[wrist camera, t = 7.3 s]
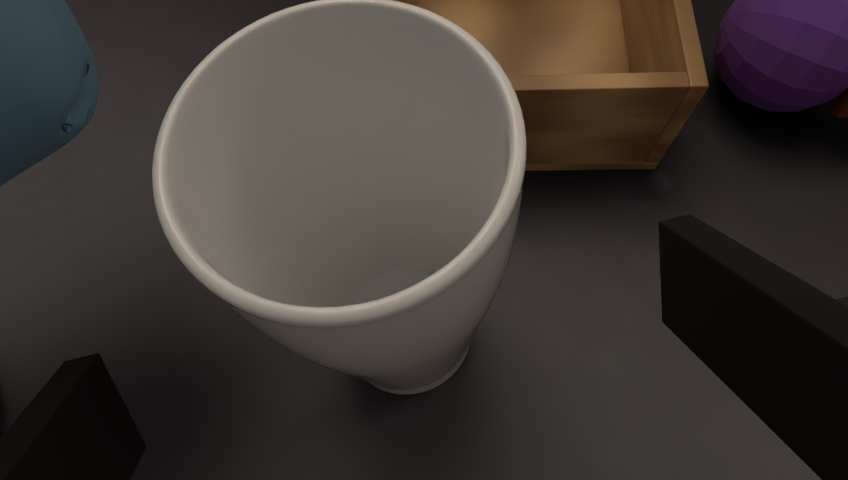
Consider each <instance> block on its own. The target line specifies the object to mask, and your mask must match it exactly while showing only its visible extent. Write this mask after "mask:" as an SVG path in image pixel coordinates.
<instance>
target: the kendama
mask: <svg viewBox="0 0 848 480" xmlns="http://www.w3.org/2000/svg"><path fill="white" fill-rule="evenodd" d="M714 57H715V61H716V64H717V68H718V72H719V75H720V79H721V80H722V82H723V83H724V84H725V85H726V86H727V87H728V88H729V89H730V90H731V91H732V92H733V94H734V95H735V96H736V97H737V98H739V99H740V100H742V101H744V102H746V103H749V104H751V105H753V106H756V107H758V108H761V109H763V110H765V111H775V112H798V111H801V110H804V109H807V108H810V107H813V106H816V105H819V104H822V103H825V102H828V101H830V100H832V99H833V102H832V105H831V114H832V116H834V117H837V118H848V0H736V1H735V2H734V3H733V4H732V5H731V6H730V8H729V9H728V11H727V12H726V14H725V16H724V17H723V19H722V21H721V23H720V25H719V29H718V35H717V41H716V47H715V52H714Z"/></svg>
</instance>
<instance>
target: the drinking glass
mask: <svg viewBox="0 0 848 480" xmlns="http://www.w3.org/2000/svg"><path fill="white" fill-rule="evenodd" d="M526 148H527V141H526V131H525V123H524V119H523V114H522V110H521V107H520V104H519V101H518V98H517V95H516V93H515V91H514V89H513V86H512V84H511V82H510V80H509V78H508V77H507V75H506V74H505V72H504V70H503V69H502V67H501V66H500V64H499V63H498V62H497V61H496V59H495V58H494V57H493V55H492V54H491V53H490V52H489V51H488V50H487V49H486V48H485V47H484V46H483V45H482V44H481V43H480V42H479V41H478V40H476V39H475V38H474V37H473V36H472V35H471V34H469V33H468V32H467V31H465V30H464V29H462V28H461V27H459V26H458V25H456V24H455V23H453V22H451V21H449V20H448V19H446V18H444V17H442V16H440V15H438V14H435V13H433V12H431V11H429V10H426V9H423V8H420V7H417V6H415V5H411V4H407V3H403V2H399V1H394V0H317V1H312V2H307V3H303V4H299V5H296V6H292V7H289V8H286V9H283V10H281V11H278V12H275V13H272V14H270V15H268V16H266V17H264V18H261V19H259V20H257V21H255V22H254V23H252V24H250V25H248V26H246V27H244V28H243V29H241V30H240V31H238V32H237V33H235V34H234V35H232V36H230V37H229V38H228V39H226V40H225V41H224V42H223V43H221V44H220V45H219V46H217V47H216V48H215V49H214V50H213V51H212V52H211V53H210V54H208V55H207V56H206V57H205V58H204V59H203V60H202V61H201V62H200V63H199V64H198V66H197V67H196V68H195V69H194V70H193V71H192V72H191V74H190V75H189V76H188V77H187V79H186V80H185V81H184V83H183V84H182V86H181V87H180V89H179V90H178V92H177V93H176V95H175V96H174V98H173V100H172V102H171V104H170V106H169V108H168V109H167V112H166V114H165V116H164V119H163V121H162V124H161V127H160V130H159V133H158V137H157V140H156V145H155V150H154V155H153V166H152V188H153V195H154V202H155V207H156V211H157V214H158V218H159V221H160V224H161V226H162V229H163V231H164V234H165V236H166V238H167V240H168V242H169V244H170V245H171V247H172V249H173V251H174V252H175V254H176V255H177V257H178V258H179V259H180V261H181V262H182V264H183V265H184V266H185V267H186V268H187V269H188V271H189V272H190V273H191V274H192V275H193V276H194V277H195V278H196V279H197V280H198V281H199V282H200V283H201V284H203V285H204V286H205V287H206V288H207V289H208V290H209V291H211V292H212V293H213V294H214V295H216V296H217V297H218V298H219V299H220V300H221V301H222V302H223V303H225V304H226V305H227V306H228V307H229V308H230V309H232V310H233V311H234V312H235V313H236V314H237V315H239V316H240V317H241V318H242V319H243V320H245V321H246V322H247V323H249V324H250V325H251V326H252V327H254V328H255V329H257V330H258V331H259V332H261V333H262V334H264V335H265V336H267V337H268V338H270V339H271V340H273V341H274V342H276V343H277V344H279V345H280V346H282V347H284V348H286V349H287V350H289V351H291V352H293V353H295V354H297V355H299V356H300V357H302V358H304V359H307V360H309V361H311V362H314V363H316V364H319V365H321V366H323V367H326V368H329V369H332V370H335V371H338V372H341V373H344V374H347V375H350V376H353V377H356V378H359V379H362V380H365V381H366V382H368V383H369V384H371V385H372V386H374V387H376V388H378V389H380V390H383V391H386V392H389V393H394V394H402V395H411V394H418V393H423V392H426V391H429V390H431V389H434V388H436V387H438V386H439V385H441V384H443V383H444V382H445V381H447V380H448V379H449V378H450V377H451V376H452V375H453V374H454V373H455V372H456V371H457V370H458V369H459V367H460V366H461V364H462V363H463V361H464V359H465V357H466V355H467V353H468V350H469V347H470V344H471V339H472V337H473V335H474V334H475V332H476V330H477V328H478V326H479V325H480V323H481V321H482V319H483V318H484V316H485V314H486V312H487V310H488V309H489V307H490V305H491V303H492V301H493V299H494V297H495V295H496V292H497V290H498V288H499V286H500V283H501V281H502V278H503V275H504V273H505V270H506V267H507V264H508V261H509V258H510V254H511V250H512V246H513V242H514V238H515V234H516V229H517V224H518V219H519V212H520V205H521V197H522V189H523V180H524V173H525V165H526Z"/></svg>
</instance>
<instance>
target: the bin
mask: <svg viewBox="0 0 848 480" xmlns="http://www.w3.org/2000/svg"><path fill="white" fill-rule="evenodd" d="M394 1H399V2H403V3H407V4H411V5H415V6H417V7H420V8H423V9H426V10H429V11H431V12H433V13H435V14H438V15H440V16H442V17H444V18H446V19H448V20H449V21H451V22H453V23H455V24H456V25H458V26H459V27H461V28H462V29H464V30H465V31H467V32H468V33H469V34H471V35H472V36H473V37H474V38H475V39H476V40H478V41H479V42H480V43H481V44H482V45H483V46H484V47H485V48H486V49H487V50H488V51H489V52H490V53H491V54H492V55H493V57H494V58H495V59H496V61H497V62H498V63H499V64H500V66H501V67H502V69H503V70H504V72H505V74H506V75H507V77H508V78H509V80H510V82H511V84H512V86H513V89H514V91H515V93H516V95H517V98H518V101H519V104H520V107H521V110H522V114H523V119H524V123H525V131H526V141H527V148H526V165H525V171H552V170H631V169H655V168H656V166H657V165H658V163H659V162H660V160H661V159H662V157H663V156H664V154H665V153H666V151H667V150H668V148H669V146H670V145H671V143H672V142H673V140H674V139H675V137H676V136H677V134H678V133H679V131H680V130H681V128H682V127H683V125H684V124H685V122H686V121H687V119H688V118H689V116H690V114H691V113H692V111H693V110H694V108H695V107H696V105H697V104H698V102H699V101H700V99H701V98H702V96H703V95H704V93H705V92H706V90H707V89H708V87H709V84H708V79H707V74H706V70H705V65H704V60H703V56H702V51H701V46H700V41H699V37H698V32H697V27H696V23H695V18H694V13H693V8H692V4H691V0H394Z"/></svg>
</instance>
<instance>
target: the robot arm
mask: <svg viewBox="0 0 848 480" xmlns="http://www.w3.org/2000/svg"><path fill="white" fill-rule="evenodd" d="M97 98H98V73H97V68H96V64H95V60H94V57H93V54H92V52H91V50H90V47H89V45H88V43H87V41H86V39H85V37H84V35H83V33H82V31H81V29H80V27H79V25H78V23H77V21H76V19H75V17H74V16H73V14H72V12H71V10H70V8H69V7H68V5H67V3H66V1H65V0H0V186H2V185H3V184H5V183H6V182H8V181H9V180H11V179H13V178H14V177H16V176H17V175H19V174H20V173H22V172H24V171H25V170H27V169H28V168H30V167H32V166H33V165H35V164H36V163H38V162H39V161H41V160H43V159H44V158H46V157H47V156H49V155H50V154H52V153H54V152H55V151H57V150H58V149H60V148H62V147H63V146H65V145H66V144H67V143H69V142H70V141H71V140H72V139H74V138H75V137H76V136H77V135H78V134H79V133H80V132H81V131H82V130H83V129H84V127H85V126H86V125H87V123H88V122H89V120H90V118H91V116H92V114H93V112H94V109H95V106H96V103H97ZM659 247H660V273H661V298H662V322H663V323H664V324H665V325H666V326H667V327H668V328H669V329H670V330H671V331H672V332H673V333H674V334H675V335H676V336H677V337H678V338H679V339H680V340H681V341H682V342H683V343H684V344H685V345H686V346H687V347H688V348H689V349H690V350H691V351H692V352H693V353H694V354H695V355H696V356H697V357H698V358H699V359H700V360H701V361H702V362H703V363H705V364H706V365H707V366H708V367H709V368H710V369H711V370H712V371H713V372H714V373H715V374H716V375H717V376H718V377H719V378H720V379H721V380H722V381H723V382H724V383H725V384H726V385H727V386H728V387H729V388H730V389H731V390H732V391H733V392H734V393H735V394H736V395H737V396H738V397H739V398H740V399H741V400H742V401H743V402H744V403H745V404H746V405H747V406H748V407H749V408H750V409H751V410H752V411H753V412H754V413H755V414H756V415H757V416H758V417H759V418H760V419H761V420H762V421H763V422H764V423H765V424H766V425H767V426H768V427H769V428H770V429H771V430H772V431H773V432H774V433H775V434H776V435H777V436H778V437H779V438H780V439H781V440H782V441H783V442H784V443H785V444H787V445H788V446H789V447H790V448H791V449H792V450H793V451H794V452H795V453H796V454H797V455H798V456H799V457H800V458H801V459H802V460H803V461H804V462H805V463H806V464H807V465H808V466H809V467H810V468H811V469H812V470H813V471H814V472H815V473H816V474H817V475H818V476H819V477H820V478H821V479H822V480H848V297H845V298H841V299H836V300H835V299H833V298H832V297H830V296H828V295H827V294H825V293H823V292H821V291H820V290H818V289H816V288H815V287H813V286H811V285H810V284H808V283H806V282H804V281H803V280H801V279H799V278H798V277H796V276H794V275H792V274H791V273H789V272H787V271H786V270H784V269H782V268H781V267H779V266H777V265H775V264H774V263H772V262H770V261H769V260H767V259H765V258H764V257H762V256H760V255H758V254H757V253H755V252H753V251H752V250H750V249H748V248H746V247H745V246H743V245H741V244H740V243H738V242H736V241H735V240H733V239H731V238H729V237H728V236H726V235H724V234H723V233H721V232H719V231H718V230H716V229H714V228H712V227H711V226H709V225H707V224H706V223H704V222H702V221H700V220H699V219H697V218H695V217H694V216H692V215H690V214H689V215H685V216H681V217H677V218H672V219H668V220H664V221H660V222H659ZM145 448H146V444H145V443H144V441H143V439H142V437H141V435H140V433H139V431H138V429H137V427H136V425H135V423H134V421H133V419H132V417H131V415H130V413H129V411H128V409H127V407H126V405H125V403H124V401H123V399H122V397H121V396H120V394H119V392H118V390H117V388H116V386H115V384H114V382H113V380H112V378H111V376H110V374H109V372H108V370H107V368H106V366H105V364H104V362H103V360H102V358H101V356H100V354H99V353H98V354H93V355H89V356H85V357H81V358H76V359H72V360H68V361H65V362H64V363H63V364H62V365H61V367H60V368H59V369H58V370H57V371H56V373H55V374H54V375H53V376H52V377H51V379H50V380H49V381H48V382H47V383H46V385H45V386H44V387H43V388H42V389H41V390H40V392H39V393H38V394H37V395H36V396H35V398H34V399H33V400H32V401H31V402H30V404H29V405H28V406H27V407H26V408H25V410H24V411H23V412H22V413H21V414H20V416H19V417H18V418H17V419H16V420H15V422H14V423H13V424H12V425H11V426H10V427H9V429H8V430H7V431H6V432H5V433H4V435H3V436H2V437H1V438H0V480H130V479H131V477H132V475H133V473H134V471H135V469H136V467H137V465H138V463H139V461H140V459H141V456H142V454H143V452H144V450H145Z"/></svg>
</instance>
